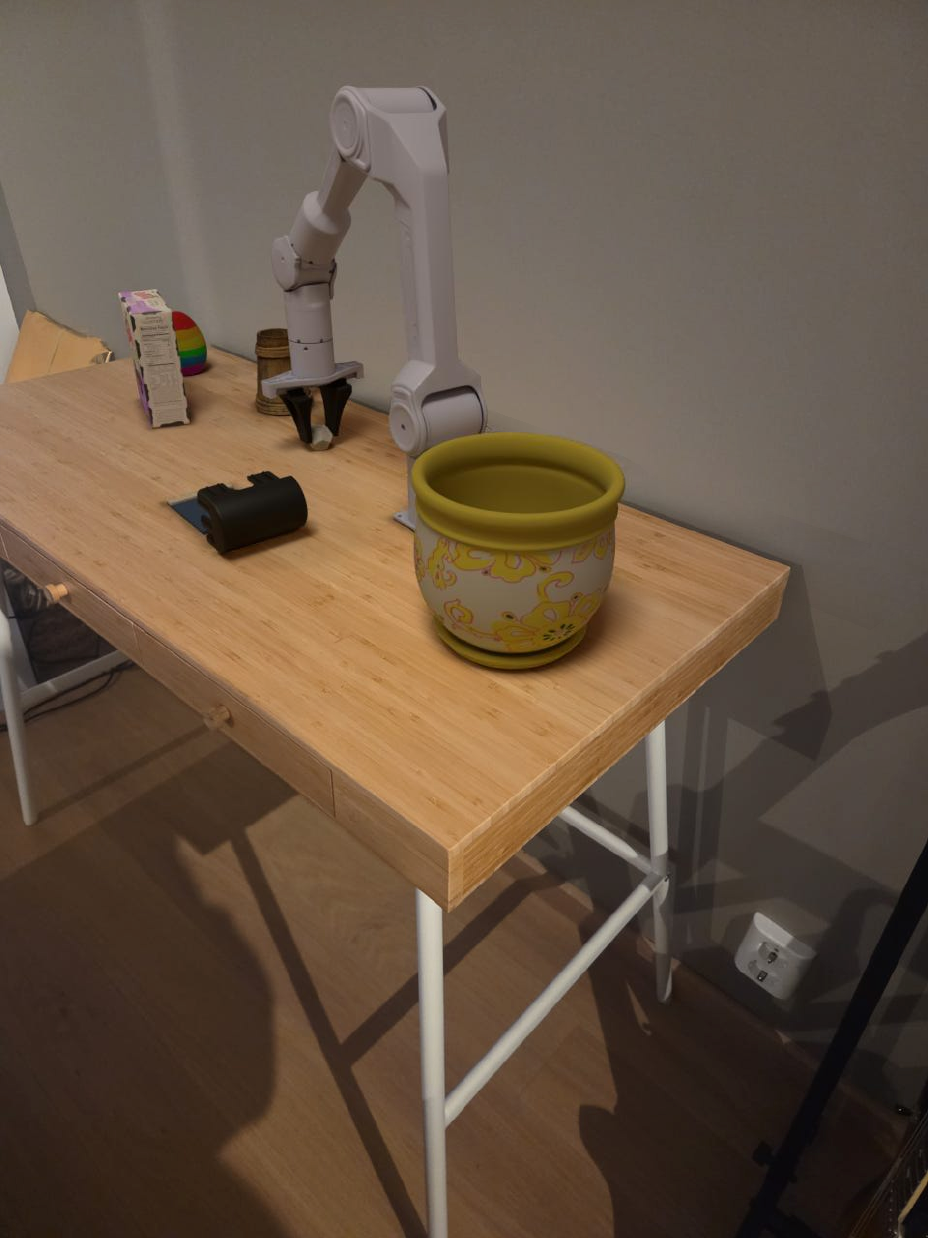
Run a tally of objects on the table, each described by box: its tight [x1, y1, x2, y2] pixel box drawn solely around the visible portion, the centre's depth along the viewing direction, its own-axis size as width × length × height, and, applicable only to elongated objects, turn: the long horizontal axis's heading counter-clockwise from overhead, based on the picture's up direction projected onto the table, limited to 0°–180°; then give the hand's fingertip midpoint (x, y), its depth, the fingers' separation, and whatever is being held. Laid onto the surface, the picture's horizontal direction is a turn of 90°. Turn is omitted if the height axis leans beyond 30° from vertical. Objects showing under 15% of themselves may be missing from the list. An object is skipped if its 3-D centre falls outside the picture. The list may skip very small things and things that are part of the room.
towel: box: [166, 482, 234, 535], centre depth 99 cm, size 10×8×1 cm
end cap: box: [196, 470, 309, 555], centre depth 91 cm, size 10×7×7 cm
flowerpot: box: [410, 431, 626, 670], centre depth 74 cm, size 18×18×16 cm
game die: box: [309, 423, 333, 452], centre depth 115 cm, size 4×4×3 cm
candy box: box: [117, 288, 191, 429], centre depth 122 cm, size 14×6×16 cm, turn 25°
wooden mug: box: [254, 327, 315, 416], centre depth 126 cm, size 9×14×18 cm, turn 126°
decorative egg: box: [172, 310, 208, 377], centre depth 141 cm, size 8×8×10 cm
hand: (319, 438), depth 115 cm, fingers open, 4 cm apart
